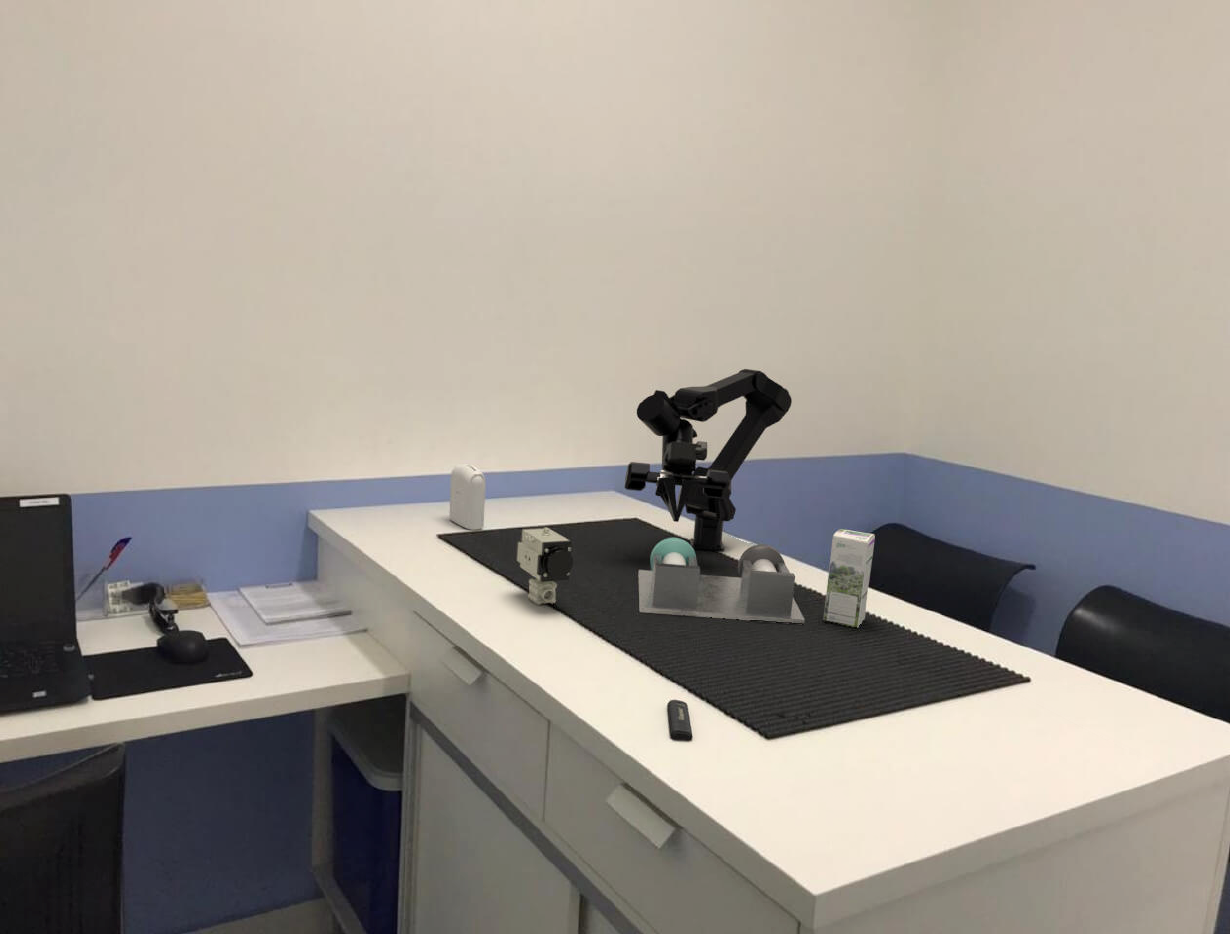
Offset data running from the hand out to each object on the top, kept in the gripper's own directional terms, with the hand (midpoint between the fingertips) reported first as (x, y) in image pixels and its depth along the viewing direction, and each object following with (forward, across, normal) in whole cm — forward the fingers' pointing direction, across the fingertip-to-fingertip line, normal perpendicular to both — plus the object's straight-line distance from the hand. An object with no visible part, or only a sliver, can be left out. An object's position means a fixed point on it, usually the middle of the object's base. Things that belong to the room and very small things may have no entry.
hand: (676, 520), depth 185 cm
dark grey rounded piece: (+17, +14, -6) cm, 23 cm away
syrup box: (+22, +26, -10) cm, 35 cm away
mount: (+16, +6, -4) cm, 18 cm away
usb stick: (+52, -6, -40) cm, 66 cm away
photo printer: (-10, -39, +28) cm, 49 cm away
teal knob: (+17, -1, -5) cm, 18 cm away
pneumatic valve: (+22, -23, -8) cm, 33 cm away
